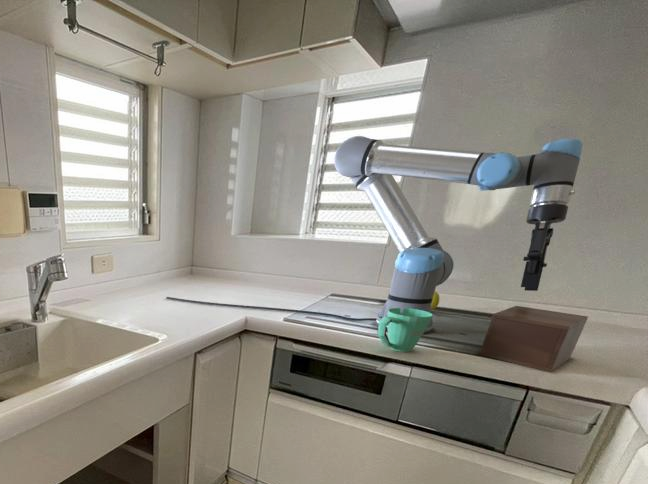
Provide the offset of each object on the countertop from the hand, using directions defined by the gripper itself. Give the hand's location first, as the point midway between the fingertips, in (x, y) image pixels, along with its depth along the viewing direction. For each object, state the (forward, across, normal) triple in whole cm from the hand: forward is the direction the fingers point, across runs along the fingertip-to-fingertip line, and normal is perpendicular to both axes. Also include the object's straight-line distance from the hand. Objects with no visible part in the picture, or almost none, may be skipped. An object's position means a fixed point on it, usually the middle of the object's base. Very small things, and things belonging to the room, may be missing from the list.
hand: (529, 289), depth 109 cm
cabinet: (+18, -12, -3) cm, 22 cm away
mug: (+19, -31, +22) cm, 42 cm away
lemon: (+7, +23, +27) cm, 36 cm away
